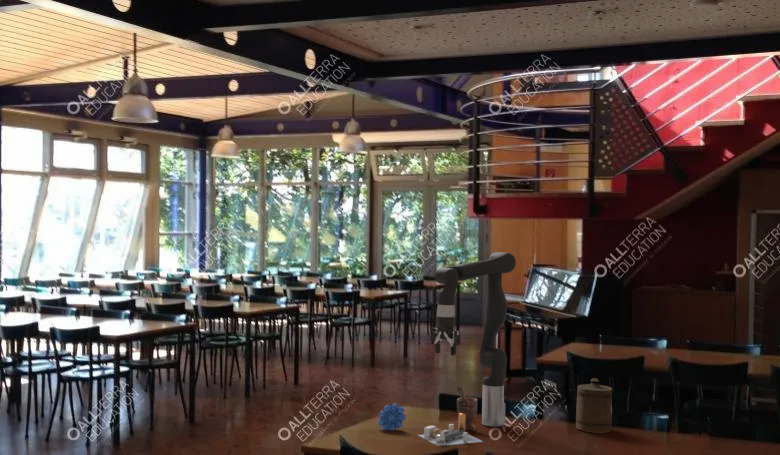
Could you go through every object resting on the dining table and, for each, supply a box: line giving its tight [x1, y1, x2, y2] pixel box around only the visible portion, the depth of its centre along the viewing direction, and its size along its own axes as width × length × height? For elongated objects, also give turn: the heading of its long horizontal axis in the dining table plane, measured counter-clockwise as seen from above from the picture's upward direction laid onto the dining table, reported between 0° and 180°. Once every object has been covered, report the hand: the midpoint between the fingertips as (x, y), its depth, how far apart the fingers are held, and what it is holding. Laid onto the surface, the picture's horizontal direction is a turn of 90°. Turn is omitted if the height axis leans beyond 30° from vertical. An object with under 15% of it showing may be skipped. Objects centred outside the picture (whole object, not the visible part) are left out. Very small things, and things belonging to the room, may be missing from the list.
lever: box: [436, 413, 466, 442], centre depth 311 cm, size 19×4×8 cm, turn 144°
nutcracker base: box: [417, 423, 484, 447], centre depth 313 cm, size 20×18×6 cm
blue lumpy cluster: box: [377, 403, 407, 431], centre depth 327 cm, size 12×7×12 cm, turn 81°
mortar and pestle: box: [456, 384, 478, 432], centre depth 331 cm, size 12×9×20 cm
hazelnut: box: [432, 427, 442, 438], centre depth 313 cm, size 4×4×4 cm
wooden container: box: [575, 377, 613, 434], centre depth 339 cm, size 15×15×22 cm
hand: (445, 354), depth 331 cm, fingers open, 8 cm apart
